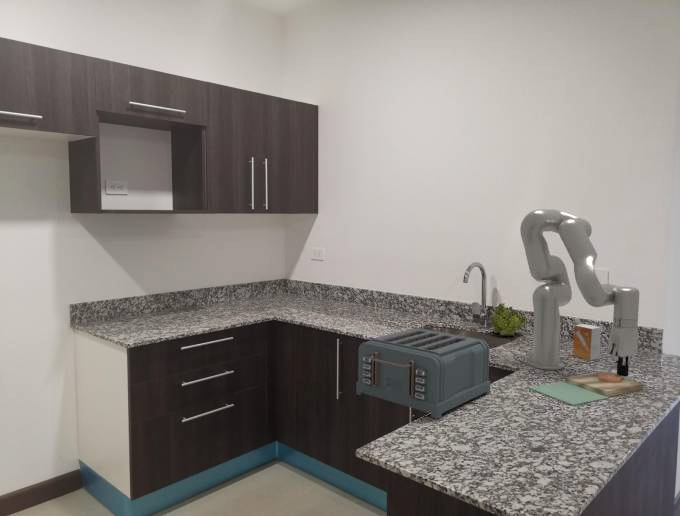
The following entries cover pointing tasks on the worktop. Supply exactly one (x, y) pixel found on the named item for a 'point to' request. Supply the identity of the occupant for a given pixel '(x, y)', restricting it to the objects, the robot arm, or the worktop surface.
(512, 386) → the worktop surface
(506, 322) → the lettuce head
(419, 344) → the toaster
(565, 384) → the mat
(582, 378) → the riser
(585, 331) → the small box
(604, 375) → the brown round disc
